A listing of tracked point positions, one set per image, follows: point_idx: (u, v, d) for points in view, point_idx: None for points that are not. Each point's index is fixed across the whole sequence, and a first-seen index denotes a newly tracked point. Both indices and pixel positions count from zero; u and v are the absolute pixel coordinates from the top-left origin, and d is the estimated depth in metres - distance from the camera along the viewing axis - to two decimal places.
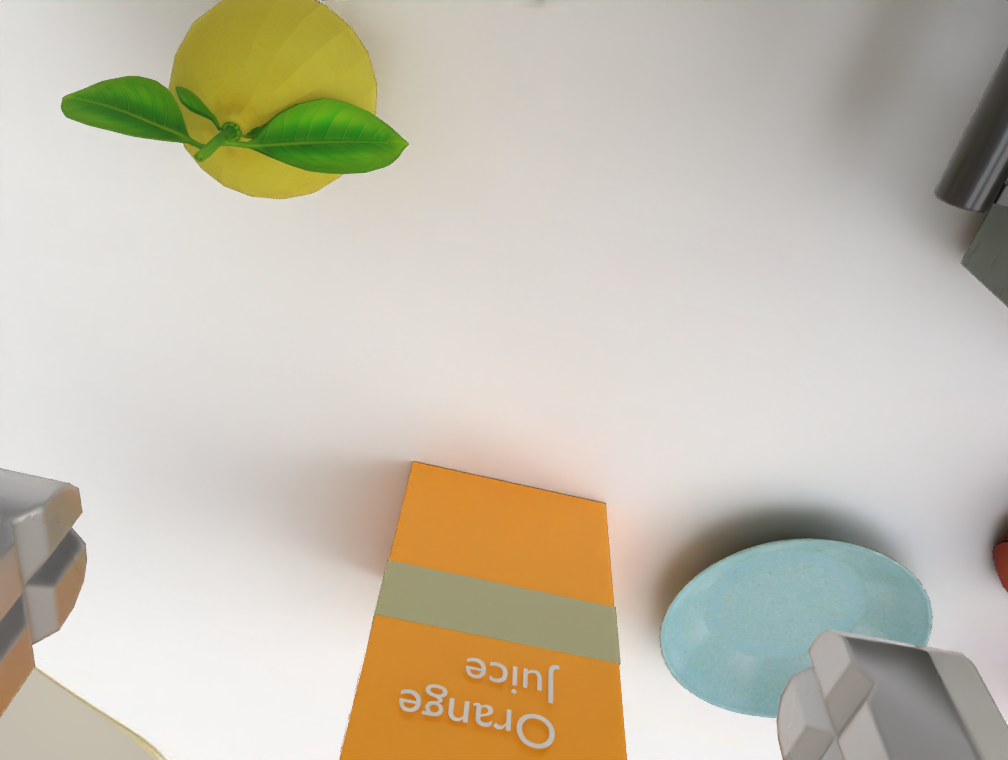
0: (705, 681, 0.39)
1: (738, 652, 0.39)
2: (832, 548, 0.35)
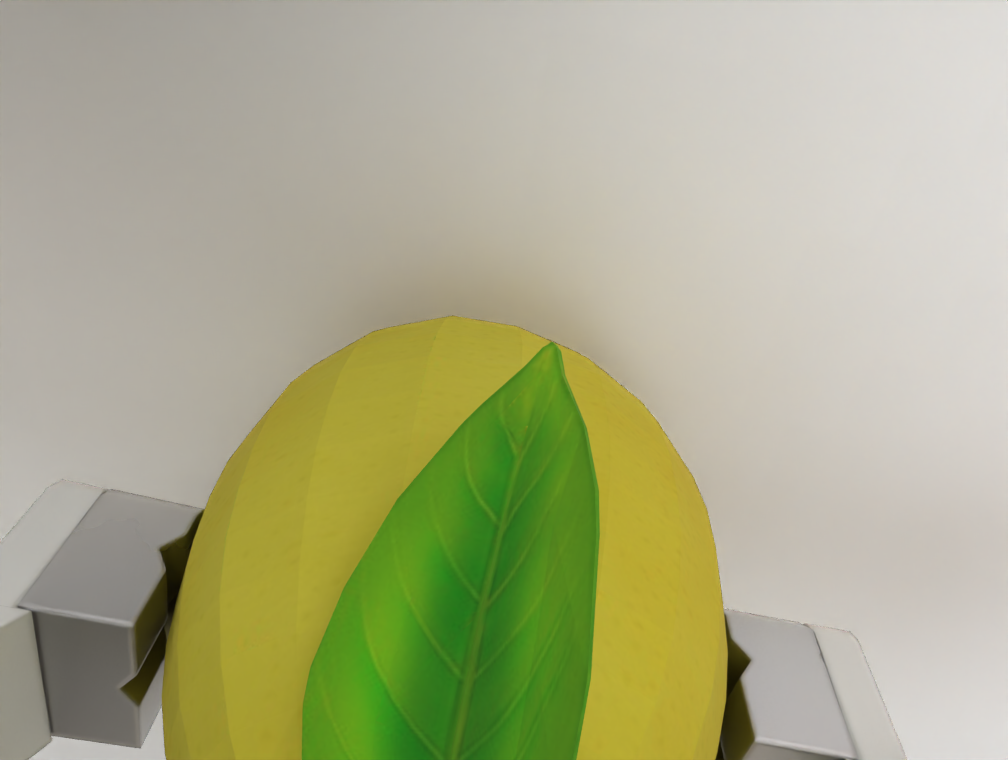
0: None
1: None
2: None
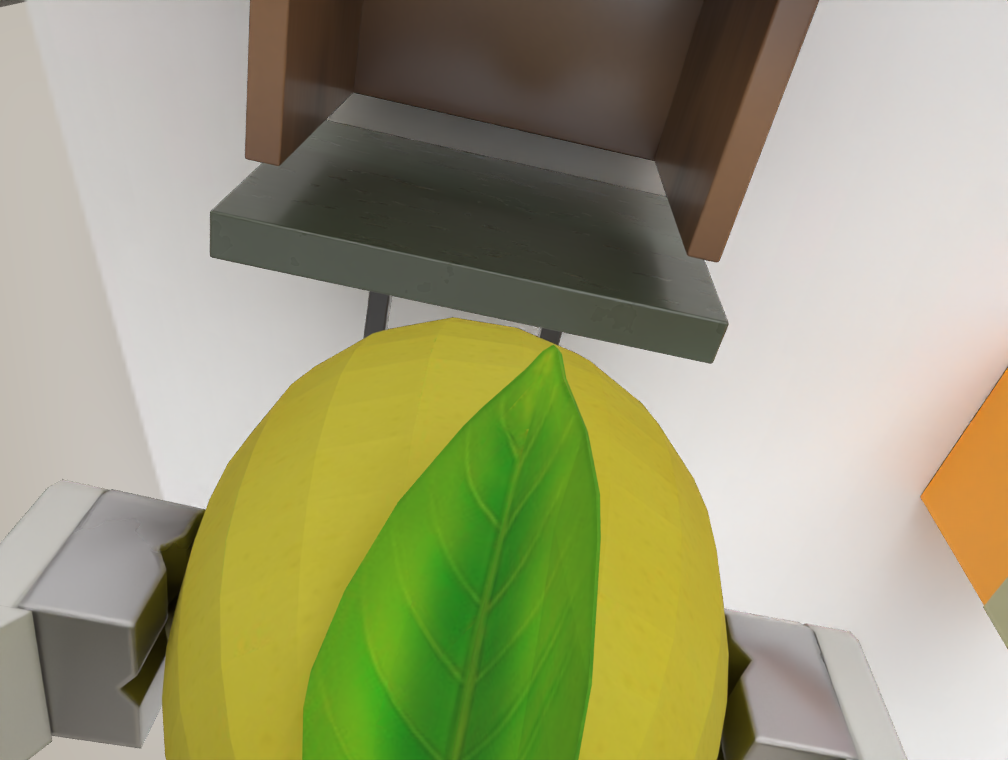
0: None
1: None
2: None
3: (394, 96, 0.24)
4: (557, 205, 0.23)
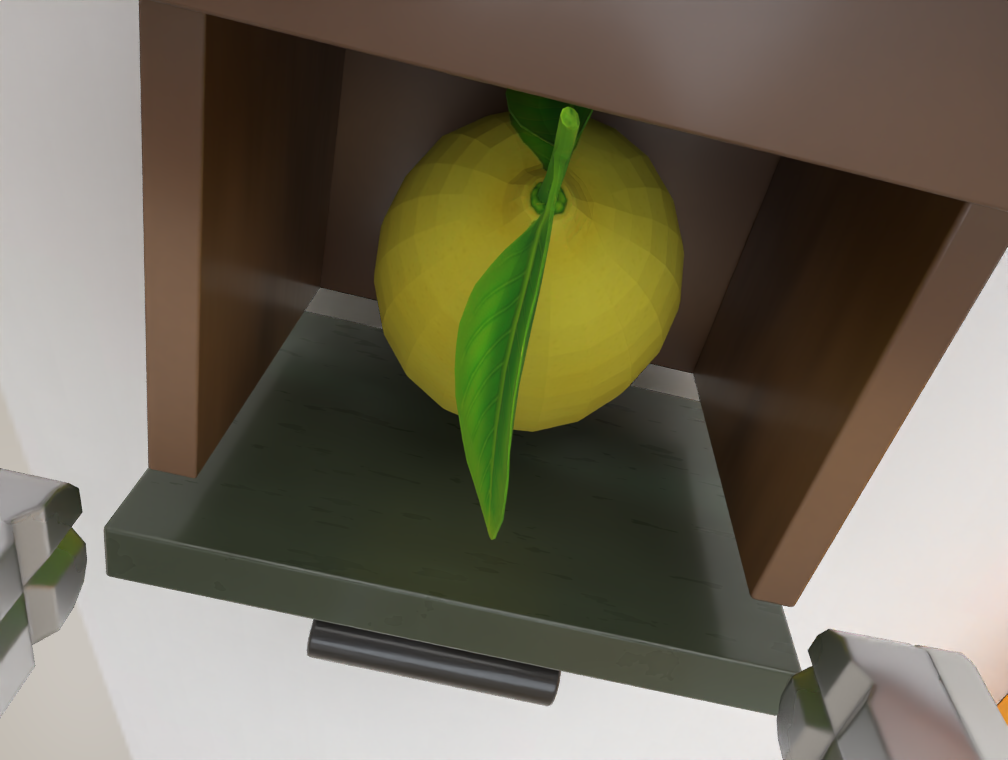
0: None
1: None
2: None
3: (370, 293, 0.19)
4: (571, 442, 0.18)
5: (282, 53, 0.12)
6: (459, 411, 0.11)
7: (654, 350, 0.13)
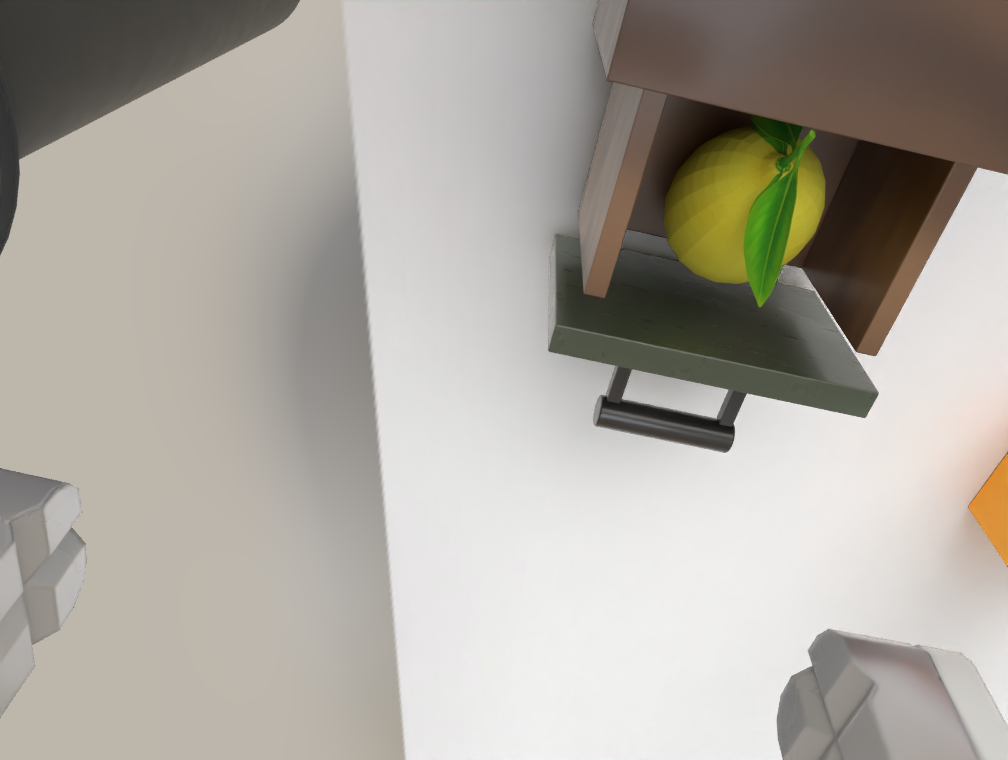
0: None
1: None
2: None
3: None
4: (741, 303, 0.34)
5: None
6: (745, 254, 0.26)
7: (812, 236, 0.29)
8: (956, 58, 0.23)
